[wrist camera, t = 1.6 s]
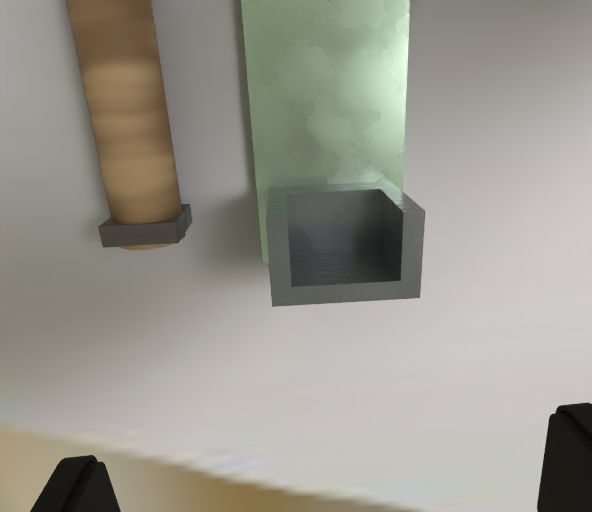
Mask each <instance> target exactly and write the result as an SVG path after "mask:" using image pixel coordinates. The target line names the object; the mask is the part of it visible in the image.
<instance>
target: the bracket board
mask: <svg viewBox="0 0 592 512" xmlns="http://www.w3.org/2000/svg"><path fill="white" fill-rule="evenodd" d="M241 9H242V21H243V33H244V45H245V58H246V70H247V82H248V94H249V106H250V118H251V130H252V142H253V154H254V167H255V179H256V191H257V203H258V215H259V227H260V239H261V251H262V263H263V264H267V263H269V270H270V283H271V296H272V307H273V306H290V305H307V304H324V303H341V302H358V301H375V300H392V299H409V298H420V287H421V271H422V254H423V238H424V221H425V210H423V209H422V208H421V207H420V206H419V205H418V204H416V203H415V202H414V201H413V200H412V199H411V198H409V197H408V196H407V195H406V194H405V193H404V192H402V188H403V164H404V139H405V114H406V90H407V65H408V41H409V16H410V0H241Z"/></svg>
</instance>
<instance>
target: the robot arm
mask: <svg viewBox="0 0 592 512" xmlns="http://www.w3.org/2000/svg"><path fill="white" fill-rule="evenodd" d="M537 510H538V512H592V404H590V403H580V404H571V405H562V406H559V407H558V408H557V410H556V413H555V414H552V415H551V416H550V418H549V424H548V431H547V439H546V446H545V453H544V460H543V467H542V475H541V482H540V489H539V496H538V503H537ZM30 512H121V511H120V508H119V505H118V502H117V499H116V496H115V493H114V490H113V487H112V484H111V481H110V478H109V475H108V472H107V469H106V466H105V464H104V463H103V462H98V461H97V459H96V457H95V456H93V455H89V456H79V457H70V458H64V459H63V460H61V461H60V462H59V464H58V465H57V467H56V469H55V470H54V472H53V474H52V475H51V477H50V479H49V480H48V482H47V484H46V486H45V487H44V489H43V491H42V492H41V494H40V496H39V498H38V499H37V501H36V503H35V504H34V506H33V508H32V509H31V511H30Z"/></svg>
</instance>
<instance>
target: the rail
mask: <svg viewBox="0 0 592 512" xmlns="http://www.w3.org/2000/svg"><path fill="white" fill-rule="evenodd" d="M66 4H67V9H68V13H69V18H70V23H71V28H72V32H73V37H74V42H75V47H76V52H77V56H78V61H79V66H80V71H81V75H82V80H83V85H84V90H85V94H86V99H87V104H88V109H89V113H90V118H91V123H92V128H93V132H94V137H95V142H96V147H97V152H98V156H99V161H100V166H101V171H102V175H103V180H104V185H105V190H106V194H107V199H108V204H109V209H110V213H111V218H109V219H108V220H107V221H105V222H104V223H103V224H102V225H100V226H99V232H100V236H101V241H102V245H103V247H118V246H119V247H121V248H124V249H130V250H144V249H153V248H159V247H163V246H167V245H170V244H173V243H179V241H180V240H181V239H183V238H184V237H185V232H186V230H187V229H188V227H189V226H190V224H191V223H192V216H191V209H190V204H181V201H180V194H179V187H178V180H177V174H176V167H175V160H174V153H173V146H172V140H171V133H170V126H169V119H168V113H167V106H166V99H165V92H164V86H163V79H162V72H161V65H160V59H159V52H158V45H157V38H156V32H155V25H154V18H153V11H152V5H151V0H66Z"/></svg>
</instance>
